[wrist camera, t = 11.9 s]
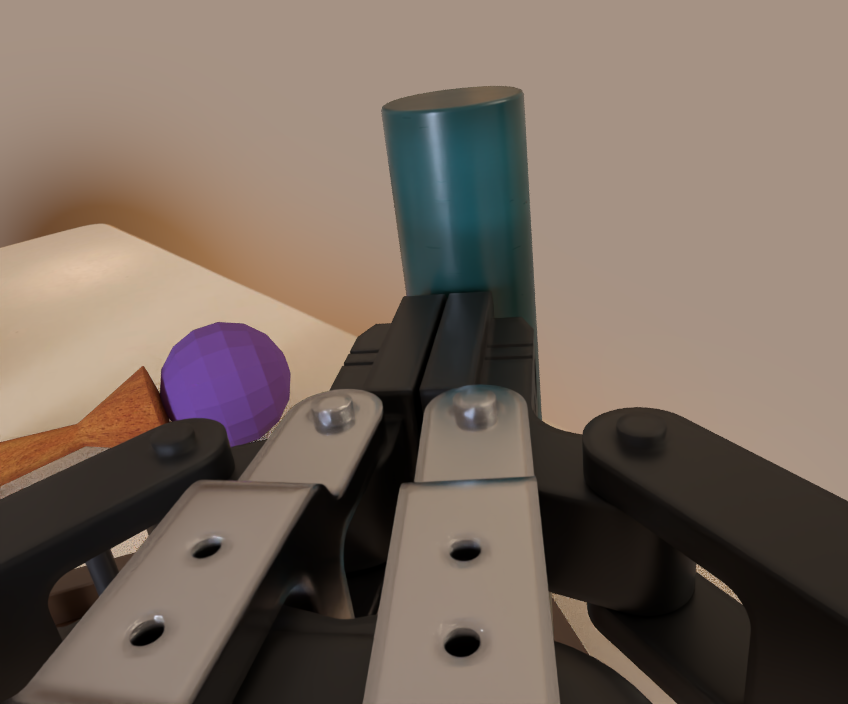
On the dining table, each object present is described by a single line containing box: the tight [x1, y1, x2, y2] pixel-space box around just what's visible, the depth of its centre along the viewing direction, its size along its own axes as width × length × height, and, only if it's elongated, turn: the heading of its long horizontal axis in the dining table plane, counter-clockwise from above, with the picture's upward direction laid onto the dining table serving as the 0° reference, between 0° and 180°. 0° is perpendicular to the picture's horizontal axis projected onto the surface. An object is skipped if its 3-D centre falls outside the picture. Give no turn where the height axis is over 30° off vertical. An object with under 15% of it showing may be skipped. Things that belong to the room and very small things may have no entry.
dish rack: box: [48, 86, 589, 655], centre depth 17 cm, size 18×12×16 cm, turn 107°
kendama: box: [0, 322, 290, 486], centre depth 34 cm, size 6×6×20 cm
